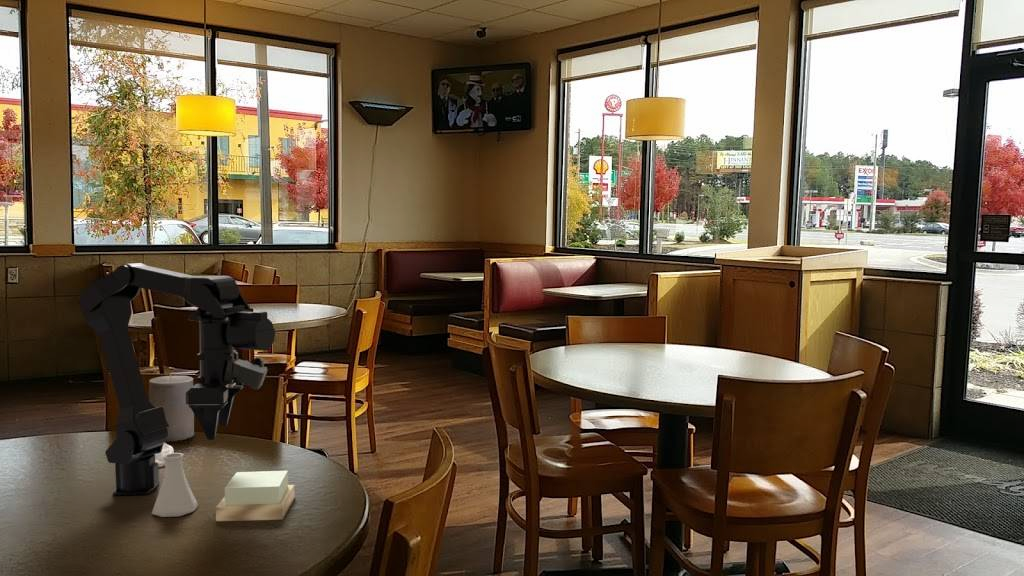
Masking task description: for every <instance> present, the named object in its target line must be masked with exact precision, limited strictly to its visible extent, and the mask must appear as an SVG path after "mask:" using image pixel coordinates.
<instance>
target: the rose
mask: <svg viewBox="0 0 1024 576" xmlns="http://www.w3.org/2000/svg"><path fill="white" fill-rule="evenodd" d="M170 453H175V451H174V448H173V446H172V445H169V444H167V443H166V442H164V444H163V447H162V451H161V453H157V454H154V455H155V463H158V468H161V467H165V460H163V456H164V455H166V454H170Z"/></svg>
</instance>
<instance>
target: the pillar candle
mask: <svg viewBox="0 0 1024 576" xmlns="http://www.w3.org/2000/svg"><path fill="white" fill-rule="evenodd" d="M148 385H149V386H148V387H149V389H148V390H149V391H148V392H149V393H148V396H149V397H148V398H149V399H148V400H149V402H150V403H151V404H152V405H153V406H154V407H155V408H157V407H160V406H161V407H163V409H164V413H165V418H166V421H167V423H168V424H169V427H167V430H168V437H166V440H165V442H164V443H166V442H167V443H168V442H170V441H171V442H179V441H184V440H188V439H191V438H192V437H194V435H195V414H194V413H193V411H192V409H191V408H189V405H188V404H186V392H187V391H188V390H189V389H190V388H192V387H193V386H194V378H193V377H192V376H188V375H172V374H171V373H169V375H165V376H158V377H157V376H156V377H153V378H151V379H149V382H148ZM187 438H188V439H187ZM178 440H179V441H178ZM171 442H170V443H171Z"/></svg>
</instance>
